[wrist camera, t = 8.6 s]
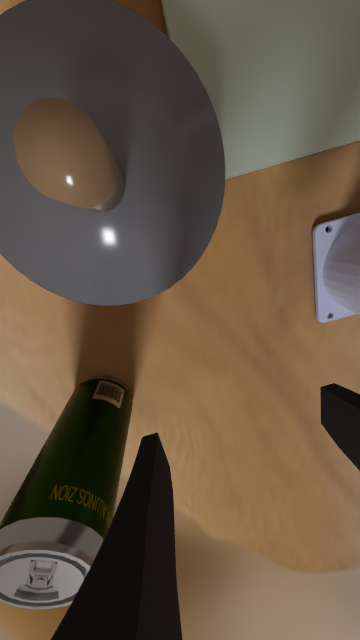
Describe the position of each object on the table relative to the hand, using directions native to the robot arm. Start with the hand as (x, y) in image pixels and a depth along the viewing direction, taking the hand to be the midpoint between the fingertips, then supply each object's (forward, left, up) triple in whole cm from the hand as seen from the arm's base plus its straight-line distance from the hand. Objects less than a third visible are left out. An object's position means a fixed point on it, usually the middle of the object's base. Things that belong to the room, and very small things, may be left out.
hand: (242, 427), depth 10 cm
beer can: (+10, +4, -11) cm, 15 cm away
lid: (+3, -11, -6) cm, 13 cm away
